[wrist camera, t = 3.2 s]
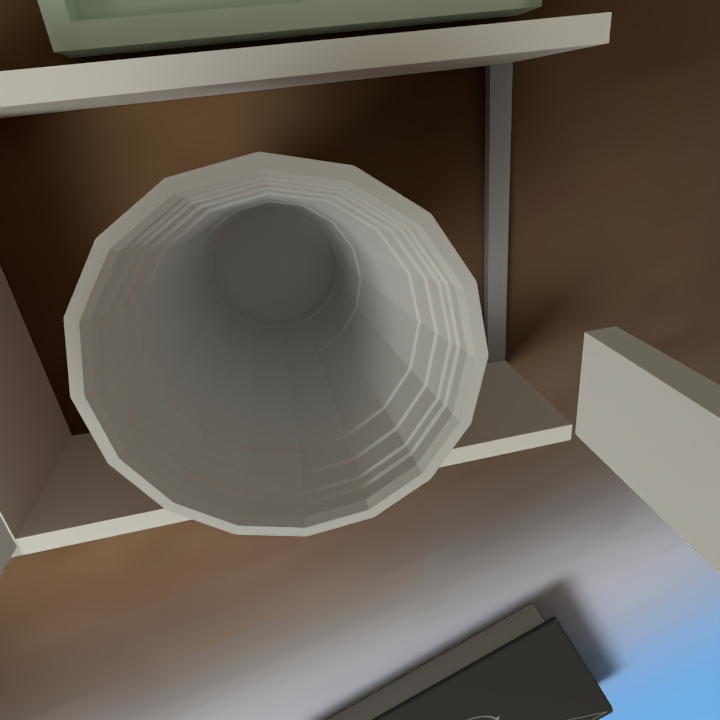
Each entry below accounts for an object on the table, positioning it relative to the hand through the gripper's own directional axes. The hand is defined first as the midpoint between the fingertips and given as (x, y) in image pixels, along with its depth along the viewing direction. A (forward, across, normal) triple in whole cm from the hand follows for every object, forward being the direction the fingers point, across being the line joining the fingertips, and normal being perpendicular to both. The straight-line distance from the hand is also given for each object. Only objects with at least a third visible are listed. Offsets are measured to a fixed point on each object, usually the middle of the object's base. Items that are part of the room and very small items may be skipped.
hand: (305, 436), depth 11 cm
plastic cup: (+14, 0, 0) cm, 14 cm away
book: (+15, +8, -37) cm, 41 cm away
